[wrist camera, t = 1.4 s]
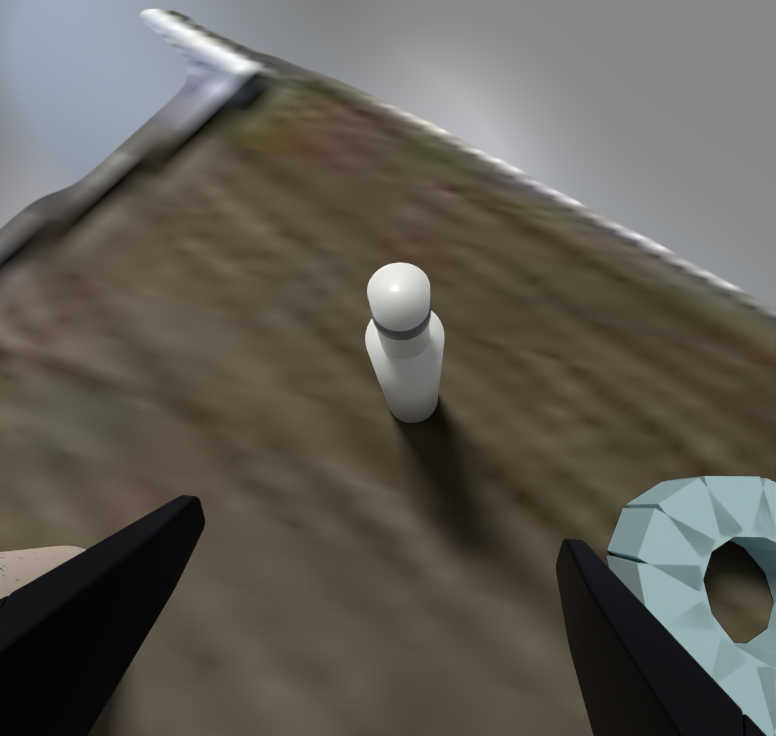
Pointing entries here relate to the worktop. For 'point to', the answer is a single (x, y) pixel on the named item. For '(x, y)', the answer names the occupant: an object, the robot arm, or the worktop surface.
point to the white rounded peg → (405, 341)
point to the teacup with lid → (31, 565)
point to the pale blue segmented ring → (687, 569)
